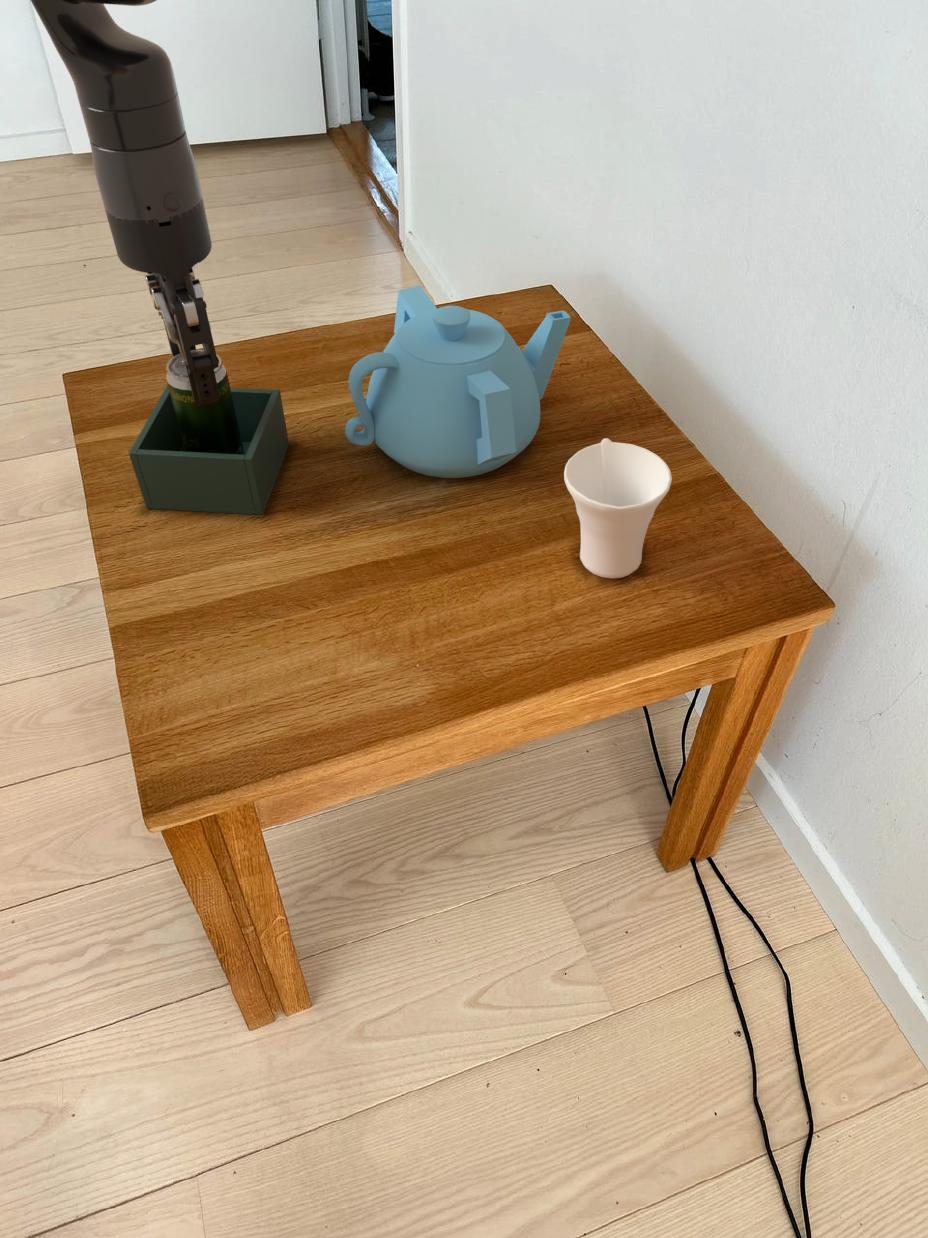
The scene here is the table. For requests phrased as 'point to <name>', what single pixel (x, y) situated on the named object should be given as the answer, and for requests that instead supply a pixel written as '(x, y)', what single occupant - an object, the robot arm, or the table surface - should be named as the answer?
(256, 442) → the open box
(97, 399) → the table surface
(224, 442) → the beer can
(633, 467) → the cup
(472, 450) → the teapot
